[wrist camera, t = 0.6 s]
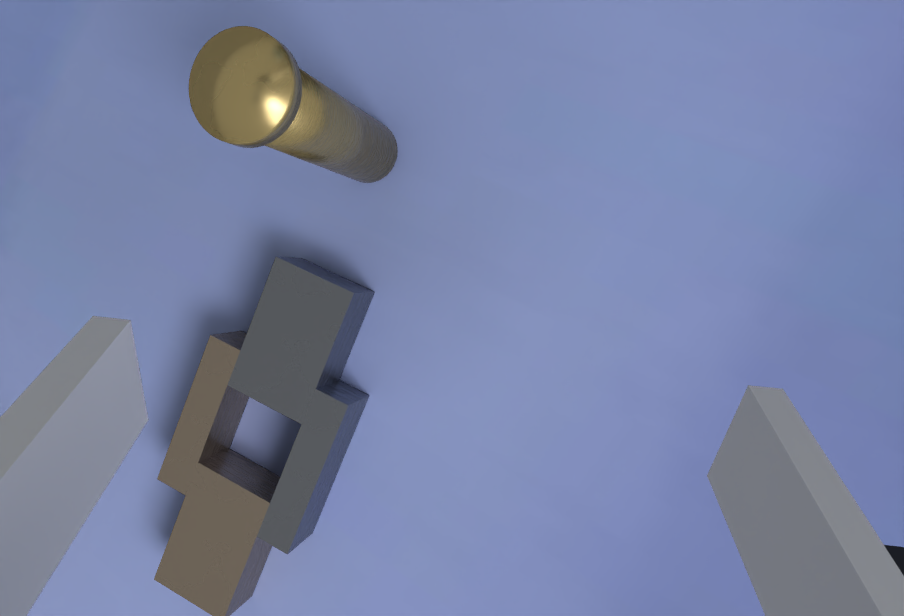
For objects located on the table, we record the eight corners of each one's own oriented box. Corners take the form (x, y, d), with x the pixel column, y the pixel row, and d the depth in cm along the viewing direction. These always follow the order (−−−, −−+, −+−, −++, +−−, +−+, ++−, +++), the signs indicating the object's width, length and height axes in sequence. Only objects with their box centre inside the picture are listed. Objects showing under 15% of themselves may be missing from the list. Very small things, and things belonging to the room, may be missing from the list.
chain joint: (273, 244, 38) (244, 242, 35) (405, 306, 36) (387, 308, 33) (161, 541, 40) (126, 562, 37) (279, 612, 39) (252, 640, 36)
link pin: (349, 102, 36) (211, 10, 24) (415, 129, 35) (308, 48, 23) (322, 173, 37) (173, 119, 24) (387, 201, 36) (267, 160, 23)
